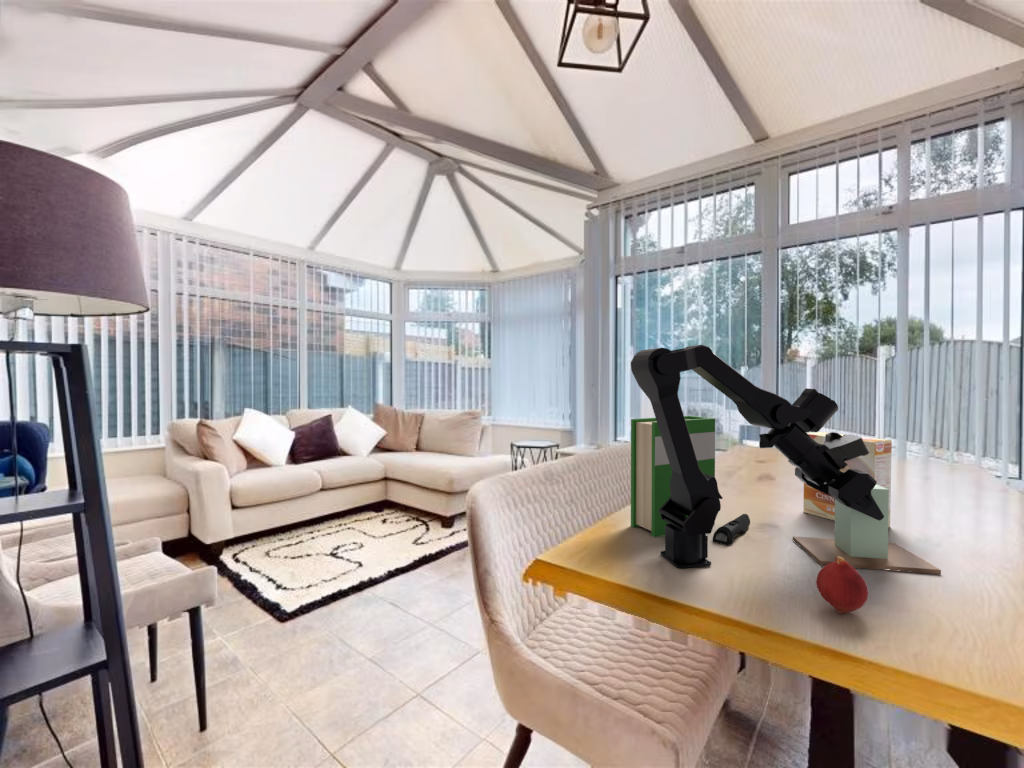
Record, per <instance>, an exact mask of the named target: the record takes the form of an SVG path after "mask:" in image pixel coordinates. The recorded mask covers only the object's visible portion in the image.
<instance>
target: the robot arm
mask: <svg viewBox="0 0 1024 768" xmlns="http://www.w3.org/2000/svg"><path fill="white" fill-rule="evenodd" d="M690 370H692V371H693V372H695V373H696V374H697V375H699V376H700V377H701V378H703V380H705V381H706V382H707V383H709V384H710V385H711V386H712V387H714V388H716V389H717V390H718V391H719V392H720V393H722V394H724V396H726V397H727V398H728V399H730V400H731V401H732V402H733V403H734V404H735V405H736V407H737V410H738V412H739V414H740V415H741V416H742V418H744V419H745V420H746V422H747V423H748V424H750V425H752V426H754V427H761V428H767V429H770V430H769V431H768V432H767V433H760V434H759V445H758V447H759V448H760V449H769V448H770V449H771V448H773V447H774V448H776V449H777V450H778V452H780V454H782V455H784V457H785V458H786V459H788V460H787V462H788V463H789V464H791V465H792V466H794V467H795V468H794V476H795V477H796V478H797V479H799V481H801V482H802V483H803V484H804V483H806V484H807V485H809V486H810V487H812V488H814V489H817V490H819V491H821V492H823V493H825V494H827V495H829V496H832V497H834V498H835V499H836V500H837V501H838V502H840V503H841V504H843V505H845V506H847V507H850V508H852V509H854V510H856V511H859V512H861V513H863V514H865V515H868V516H870V517H872V518H874V519H876V520H879V521H880V520H882V519H883V518H884V515H883V513H882V512H881V510H880V509H879V507H878V505H877V504H876V502H875V500H874V498H873V496H872V495H871V491H872V489H873V488H874V487H875V485H876V483H877V481H876V480H874V479H873V478H872V477H871V476H870V475H869V474H868V473H865V472H863V471H860V470H857V469H848V470H847V471H846V472H845V473H844V472H841V471H840V469H843V468H845V467H846V466H847V465H848V464H847V463H845V462H844V461H848V460H851V459H853V458H856V457H859V456H865V455H867V454H869V451H868V449H867V447H866V446H865V444H864V442H863V440H862V438H861V437H862V436H859V435H855V434H846V433H845V434H843V436H841V435H840V434H841V433H839V432H836V431H831V432H827V433H828V434H826V437H825V442H824V444H819V443H817V442H816V441H815V440H814V439H812V438H811V437H810V436H809V435H808V434H807V433H810V432H811V433H813V432H820V430H821V429H823V427H824V426H825V425H826V424H827V423H828V422H829V421H830V419H832V417H833V416H834V415H835V414H836V413H837V412H838V411H839V406H838V403H837V402H836V401H835V400H833V399H832V398H830V397H829V396H827V395H825V394H823V393H820V392H818V390H817V389H816V388H806V387H805V389H804V390H802V392H801V393H800V395H799V396H798V397H797V399H796V400H795V401H794V402H793V403H791V402H790V401H789V400H787V399H786V398H784V397H782V396H780V395H778V394H776V393H774V392H771V391H768V390H766V389H762V388H760V387H758V386H757V385H755V384H754V383H752V382H751V381H749V379H748V378H746V377H745V376H743V375H742V374H741V373H739V372H738V371H737V370H736V369H734V368H733V367H732V366H731V365H730V364H728V363H727V362H725V360H723V359H722V358H721V357H719V356H718V355H717V354H715V353H714V352H713V350H712V349H711V348H710V347H709V346H707V345H705V344H696V345H688V346H685V347H683V348H679V349H673V350H670V349H669V348H666V347H660V348H659V347H658V348H657V347H655V348H649V349H642V350H639V351H637V352H636V353H635V354H634V355H633V357H632V360H631V361H630V371H631V373H632V375H633V377H634V379H635V381H636V383H637V385H638V387H639V389H641V391H642V392H643V393H644V394H645V396H646V397H647V398H648V400H649V401H650V405H651V406H652V410H653V414H654V416H655V417H654V418H656V421H657V424H658V427H659V431H660V434H661V437H662V440H663V444H664V447H665V450H666V454H667V457H668V460H669V463H670V467H671V470H672V476H671V481H670V493H671V497H670V498H669V499H668V500H667V501H666V502H665V503H664V504H663V506H662V507H661V508H660V509H659V513H660V516H661V519H662V520H663V521H666V522H668V523H669V524H665V535H664V550H662V551H660V555H661V556H662V557H664V558H665V559H666V560H667V561H669V562H670V563H671V564H672V565H673V566H675V567H676V568H678V569H685V568H687V569H689V568H697V567H698V568H700V567H710V566H712V562H711V561H710V560H709V559H707V558H708V555H709V551H708V549H709V548H708V546H709V545H708V543H709V542H708V541H709V537H708V535H710V534H711V533H712V531H713V528H714V526H715V525H714V522H715V523H716V519H717V516H718V514H719V512H720V511H721V508H722V504H721V500H723V496H722V495H721V493H720V491H719V487H718V481H717V478H716V476H715V477H713V476H710V475H707V474H704V473H702V471H701V470H700V468H699V465H698V461H697V458H696V455H695V451H694V448H693V445H692V441H691V438H690V435H689V431H688V428H687V425H686V421H685V418H684V416H685V414H684V411H683V408H682V406H681V401H680V398H679V388H680V384H681V383H680V382H681V373H683V372H687V371H690ZM807 479H808V480H807ZM686 515H687V516H688V517H686Z"/></svg>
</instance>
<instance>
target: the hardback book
mask: <svg viewBox="0 0 1024 768" xmlns="http://www.w3.org/2000/svg"><path fill="white" fill-rule="evenodd" d="M684 418H685V421H686V425H687V428H688V431H689V435H690V438H691V441H692V445H693V448H694V451H695V455H696V458H697V461H698V465H699V468H700V470H701V471H702V473H704V474H707V475H710V476H713V477H715V478H716V418H715V417H704V416H696V415H684ZM671 476H672V470H671V467H670V463H669V460H668V457H667V454H666V450H665V447H664V444H663V440H662V437H661V434H660V431H659V427H658V424H657V421H656V417H646V418H645V417H644V418H631V419H630V527H631V528H639V527H641V528H643V529H646V530H648V531H650V532H651V535H650V536H651V537H653V538H659V537H663V536H662V535H664V536H665V524H669V523H668V522H666V521H663V520H662V519H661V516H660V513H659V509H660V508H661V507H662V506H663V504H664V503H665V502H666V501H667V500H668V499H669V498H670V497H671V493H670V481H671ZM686 517H688V516H687V515H686ZM715 523H716V521H715V522H714V525H713V526H715ZM658 536H659V537H658Z"/></svg>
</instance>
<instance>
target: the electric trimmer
mask: <svg viewBox="0 0 1024 768" xmlns="http://www.w3.org/2000/svg"><path fill="white" fill-rule="evenodd" d="M750 525H751V520H750V516H749V515H748V514H747V513H743V514H741V515H739V516H738V517H736V518H734V519H733V520H731V521H729V522H727V523H725V524H723V525H722V526H720V527H718V528H717V529H716V530H714V533H713V536H712V541H713V542H714V543H716V542H717V543H716V544H720V543H721V544H720V545H725V546H731V545H732V544H733V542H734V538H736V537H737V536H738V535H743V534H745V533H746V532H747V529H748V528H749V527H750ZM730 544H731V545H730Z"/></svg>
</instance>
